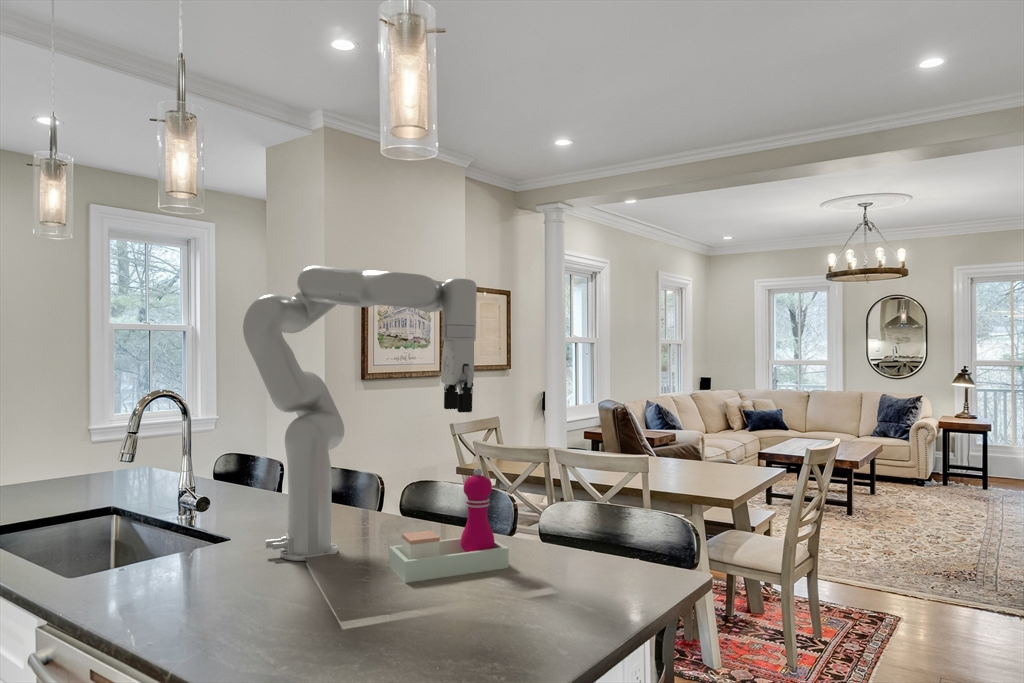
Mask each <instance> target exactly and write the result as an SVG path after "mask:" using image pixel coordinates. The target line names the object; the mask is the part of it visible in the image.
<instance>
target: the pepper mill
mask: <svg viewBox="0 0 1024 683" xmlns="http://www.w3.org/2000/svg"><path fill="white" fill-rule="evenodd" d="M482 474H483V470H482V469H481V468H480V467H476V468H474V470H473V475H472V476H469V477H467V479H465V481H464V483H463V484H464V485H463V493H464V495H465V496H466V499H465V501H466V502H465V507H467V511H468V513H467V521H466V524H465V527H464V529H463V531H462V534H461V536H460V538H461V547H462V549H463V550H464V551H465V552H472V551H479V550H487V549H493V547H494V544H495V541H494V540H495V536H494V531H493V529H492V527H491V525H490V522H489V519H488V507H489V506H490V498H489V496H490V495H491V493H492V490H493V487H492V482H491V480H490V479H489V478H488V477H486V476H485V475H482Z"/></svg>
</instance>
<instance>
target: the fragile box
mask: <svg viewBox="0 0 1024 683" xmlns="http://www.w3.org/2000/svg"><path fill="white" fill-rule="evenodd" d="M440 537H441V536H439V535H438V534H435V532H433V531H432V530H424V531H423V530H422V531H414V532H403V533H401V540H402V541H401V545H402V554H403V555H404V556H405V557H406V558H407V559H408V560H411V559H419V558H426V557H434V556H439V541H440V540H441V538H440Z"/></svg>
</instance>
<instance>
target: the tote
mask: <svg viewBox="0 0 1024 683" xmlns="http://www.w3.org/2000/svg"><path fill="white" fill-rule="evenodd" d="M494 541H495V544H494V547H493V549H487V550H479V551H472V552H465V551H464V550H463V549H462V547H461V537H457V538H455V537H454V538H447V539H440V541H439V556H434V557H426V558H419V559H411V560H408V559H407V558H406V557H405V556H404V555H403V554H402V544H399V545H398V544H397V545H390V546H388V567H389V568H390V569H391V570H392V571H393V573H395V574H396V576H397V577H399V579H400V580H401V581H402V582H403V583H405V584H407V583H414V582H421V581H429V580H430V581H431V580H434V579H442V578H448V577H449V578H450V577H454V576H455V577H456V576H463V575H469V574H476V573H477V574H478V573H484V572H489V571H497V570H503V569H509V560H510V558H509V554H510V553H509V551H510V549H509V547H508V546H506V545H504V544H502V543H501V542H499V541H497V540H495V539H494Z"/></svg>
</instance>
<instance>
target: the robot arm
mask: <svg viewBox="0 0 1024 683" xmlns="http://www.w3.org/2000/svg"><path fill="white" fill-rule="evenodd" d="M296 283H297V284H296V285H297V289H298V291H297V293H295V294H294V295H293V296H292V295H291V297H289V296H286V295H280V294H265V295H263V296H260V297H258V298H256V300H254V301H253V302H252V303H251V304H250V305H249V307H248V309H247V311H246V313H245V315H244V318H243V323H242V332H243V333H242V334H243V338H244V341H245V344H246V346H247V348H248V349H247V350H248V351H249V353H250V355H251V358H252V359H253V361H254V362H255V363H254V364H255V365H256V368H257V369H258V372H259V374H260V376H261V379H262V382H263V383H264V386H265V388H266V389H267V392H268V394H269V396H270V399H271V400H272V403H273V405H274V407H275V408H276V409H278V410H279V411H280V412H283V413H291V414H293V413H296V415H297V417H296V418H294V419H293V420H292V421H291V422H290V424H288V427H286V428H287V429H286V430H285V435H284V448H285V454H286V460H287V461H286V462H287V463H286V464H287V532H285V533H284V536H280V538H277V539H276V538H275V539H274V538H271V539H269V538H268V539H265V549H266V550H267V549H272V550H278V549H280V551H279V556H280V557H281V558H282V559H284V560H288V561H295V562H305V561H307V560H306V558H313V557H320V556H327V555H335V554H337V553H338V551H339V545H338V544H336V543H334V542H332V487H333V486H332V464H331V459H330V454H329V451H332V450H333V449H335V448H336V447H338V446H339V445H340V444H341V442H342V441H343V439H344V435H345V424H344V421H343V418H342V416H341V415H340V411H339V410H338V408H337V406H336V404H335V401H334V399H333V397H332V395H331V393H330V391H329V389H328V387H327V385H326V384H325V382H324V380H323V379H322V378H321V377H320V376H319V375H317V374H316V373H314V372H312V371H307V370H303V369H302V368H301V366H300V364H299V362H298V360H297V359H296V356H295V354H294V352H293V349H292V348H291V346H290V345H289V344H288V342H287V340H285V337H284V336H283V333H284V334H285V333H286V334H297V333H300V332H303V331H305V329H307V328H309V327H311V326H312V325H313V324H314V323H316V322H317V321H318V320H319V319H320V318H322V317H323V316H325V315H326V314H327V313H328V312H330V311H331V310H333V308H335V307H336V306H338V305H340V306H342V305H343V306H349V307H350V306H351V307H352V306H353V307H359V308H372V307H373V306H387V307H398V308H408V309H414V310H419V311H422V312H426V313H435V312H442V325H441V326H442V327H441V328H442V329H441V330H442V331H441V332H442V335H441V336H442V337H441V340H442V341H443V344H442V345H443V347H442V352H441V353H442V354H441V355H442V356H441V366H440V367H441V368H440V369H441V370H440V381H441V383H442V384H444V387H443V391H444V392H443V409H445V410H457V413H472V412H473V394H474V393H473V392H474V389H473V388H474V377H475V357H474V356H475V353H474V351H475V350H474V342H476V341H477V338H476V337H477V336H476V335H477V297H478V296H477V292H478V291H477V288H478V287H477V284H476V282H475V281H474V280H473V279H469V278H448V279H447V280H445V281H440V280H439V281H438V280H437V279H433V278H432V277H429V276H427V275H424V274H417V273H408V272H401V271H399V272H398V271H386V270H385V271H383V270H381V271H380V270H374V269H373V270H372V269H360V268H359V269H358V268H347V267H339V266H330V265H329V266H328V265H310V266H307V267H306V268H303V270H301V272H300V273H299V274H298V278H297V282H296ZM457 390H458V391H457Z"/></svg>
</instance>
